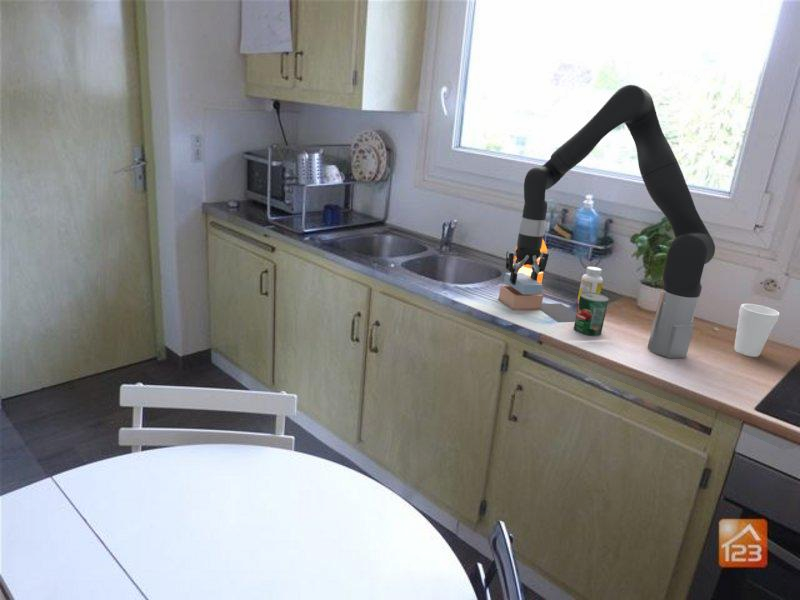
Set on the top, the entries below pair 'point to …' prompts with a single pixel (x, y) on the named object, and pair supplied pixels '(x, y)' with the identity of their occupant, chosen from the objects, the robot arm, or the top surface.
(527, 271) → the orange juice
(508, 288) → the brown open box
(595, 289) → the supplement bottle
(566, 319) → the mat
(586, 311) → the canned tomato
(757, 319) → the foam cup
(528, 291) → the blue-grey rectangular block
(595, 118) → the robot arm
